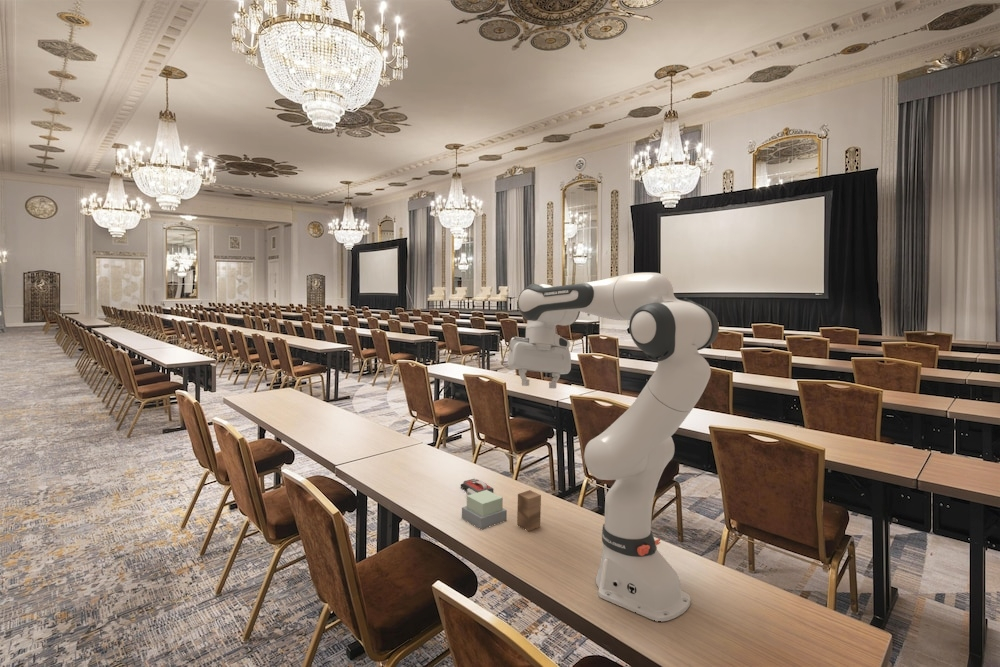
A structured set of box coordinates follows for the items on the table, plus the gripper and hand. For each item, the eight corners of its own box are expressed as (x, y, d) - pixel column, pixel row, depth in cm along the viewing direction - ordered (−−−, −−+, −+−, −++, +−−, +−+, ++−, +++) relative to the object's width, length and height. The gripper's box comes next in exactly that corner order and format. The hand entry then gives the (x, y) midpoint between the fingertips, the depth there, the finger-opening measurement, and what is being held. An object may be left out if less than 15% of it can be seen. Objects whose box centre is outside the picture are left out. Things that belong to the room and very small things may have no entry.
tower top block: (502, 510, 162) (502, 497, 162) (482, 516, 157) (482, 504, 157) (486, 501, 168) (486, 489, 168) (466, 508, 163) (466, 495, 163)
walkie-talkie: (455, 489, 188) (485, 509, 172) (455, 478, 188) (485, 496, 171) (475, 484, 193) (506, 503, 177) (475, 473, 193) (507, 490, 176)
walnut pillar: (540, 526, 159) (541, 495, 158) (528, 531, 155) (529, 499, 155) (529, 521, 162) (529, 490, 162) (517, 525, 159) (517, 493, 158)
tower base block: (506, 522, 162) (506, 510, 162) (481, 531, 156) (481, 518, 156) (486, 511, 170) (486, 499, 170) (461, 519, 164) (461, 507, 163)
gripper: (515, 333, 145) (514, 383, 142) (574, 342, 154) (573, 389, 152) (504, 337, 150) (502, 384, 147) (561, 345, 160) (560, 390, 157)
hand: (539, 387), depth 150 cm, fingers open, 8 cm apart
